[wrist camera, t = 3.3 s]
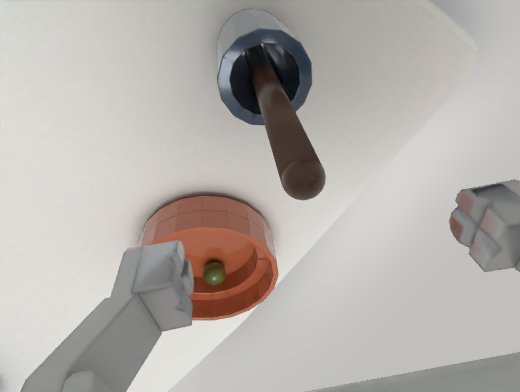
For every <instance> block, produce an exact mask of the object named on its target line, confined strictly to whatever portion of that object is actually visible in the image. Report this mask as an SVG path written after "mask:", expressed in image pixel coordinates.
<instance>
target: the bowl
mask: <svg viewBox="0 0 520 392" xmlns="http://www.w3.org/2000/svg"><path fill="white" fill-rule="evenodd" d="M178 240H179V241H181V242H182V244H183V246H184V248H185V254H184V257H186V258H187V259H189V260H190V263H191V266H192V270H193V276H194V291H193V292H192V294H191V295H190V296H189V297H190V299H191V301H192V303H193V310H192V320H217V319H223V318H229V317H233V316H235V315H238V314H241V313H243V312H246V311H249V310H250V309H252V308H253V307H255V306H256V305H258V304H260V303H261V302H263V301H264V299H266V297H267V296H268V295H269V294H270V293H271V292H272V290H273V289H274V287H275V284H276V281H277V278H278V268H277V261H276V256H275V251H274V246H273V241H272V236H271V231H270V228H269V226H268V225H267V223H266V222H265V220H264V219H263V217H262V216H261V215H260V214H259V213H257V212H256V211H255V210H253V209H252V208H251V207H249V206H248V205H246V204H244V203H241V202H238V201H235V200H232V199H230V198H227V197H215V196H197V197H191V198H185V199H180V200H177V201H175V202H173V203H171V204H169V205H167V206H165V207H163V208H161V209H160V210H159V211H158V212H156V213H155V214H154V215H153V216H152V217H151V218H150V219H149V220H148V221H147V222H146V225H145V227H144V229H143V232H142V234H141V236H140V240H139V244H138V247H142V246H146V245H152V244H159V243H165V242H172V241H178ZM211 262H218V263H220V264H222V265H223V266H224V268H225V271H226V276H225V279H224V281H223V282H222V283H221V284H219V285H216V286H211V285H209V284H207V283H206V282H205V281H204V279H203V275H202V273H203V269H204V267H205V266H206V265H207V264H209V263H211Z"/></svg>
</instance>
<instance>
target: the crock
mask: <svg viewBox="0 0 520 392" xmlns="http://www.w3.org/2000/svg"><path fill="white" fill-rule="evenodd" d="M258 44H260V45H261V46H262V47H263V49H264V51H265V53H266V55H267V57H268V59H269V61H270V63H271V65H272V67H273V69H274V71H275V73H276V75H277V77H278V79H279V81H280V83H281V85H282V87H283V89H284V91H285V93H286V95H287V97H288V99H289V101H290V103H291V105H292V107H293V109H294V111H295V112H296V111H297V110H298V109H299V108H300V107H301V106H302V105H303V103H304V102H305V100H306V97H307V95H308V92H309V90H310V88H311V85H312V67H311V61H310V59H309V57H308V55H307V53H306V51H305V49H304V48H303V46H302V44H301V43H300V42H299V40H298V39H297V38H296V37H295V36H294V35H293V34H292V33H291V32H290V31H289V30H288V29H287V28H286V27H285V26H284V25H283V24H282V23H281V22H280V21H279V20H278V19H277V18H275V17H274V16H273V15H272V14H270V13H268V12H267V11H264V10H261V9H255V8H250V9H244V10H241V11H239V12H237V13H235V14H234V15H232V16H231V17H230V18H229V19H228V20H227V21H226V22H225V24H224V25H223V27H222V29H221V31H220V34H219V38H218V44H217V82H218V86H219V91H220V96H221V99H222V101H223V102H224V104H225V105H226V106H227V108H228V109H229V110H230V112H231V113H232V114H233V115H234V116H235V117H237V118H239V119H241V120H243V121H245V122H247V123H249V124H252V125H265V124H264V120H263V117H262V113H261V110H260V106H259V103H258V99H257V96H256V92H255V89H254V85H253V82H252V78H251V75H250V71H249V68H248V64H247V61H246V57H245V50H247V49H249V48H251V47H254V46H256V45H258Z"/></svg>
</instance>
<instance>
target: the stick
mask: <svg viewBox="0 0 520 392" xmlns="http://www.w3.org/2000/svg"><path fill="white" fill-rule="evenodd" d="M245 57H246V61H247V64H248V68H249V71H250V75H251V78H252V82H253V85H254V89H255V92H256V96H257V99H258V103H259V106H260V110H261V113H262V117H263V120H264V124H265V127H266V131H267V134H268V138H269V141H270V145H271V148H272V152H273V155H274V159H275V162H276V166H277V169H278V173H279V176H280V180H281V183H282V186H283V188H284V190H285V191H286V193H287V194H288V195H290V196H291V197H293V198H295V199H298V200H308V199H311V198H314V197H315V196H317V195H318V194H319V193H320V192H321V191H322V189H323V187H324V184H325V178H326V177H325V171H324V169H323V167H322V165H321V163H320V161H319V159H318V157H317V155H316V153H315V151H314V149H313V147H312V145H311V143H310V141H309V139H308V137H307V135H306V133H305V131H304V129H303V127H302V125H301V123H300V121H299V119H298V117H297V115H296V113H295V111H294V109H293V107H292V105H291V103H290V101H289V99H288V97H287V95H286V93H285V91H284V89H283V87H282V85H281V83H280V81H279V79H278V77H277V75H276V73H275V71H274V69H273V67H272V65H271V63H270V61H269V59H268V57H267V55H266V53H265V51H264V49H263V47H262V46H261V45H260V44H258V45H256V46H254V47H251V48H249V49H247V50H245Z"/></svg>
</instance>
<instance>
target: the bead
mask: <svg viewBox="0 0 520 392" xmlns="http://www.w3.org/2000/svg"><path fill="white" fill-rule="evenodd" d="M202 275H203V279H204V281H205V282H206V283H207V284H209V285H211V286H216V285H219V284H221V283H222V282H223V281H224V279H225V276H226V271H225V268H224V266H223V265H222V264H220V263H218V262H211V263H209V264H207V265H206V266H205V267H204V269H203V273H202Z"/></svg>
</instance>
